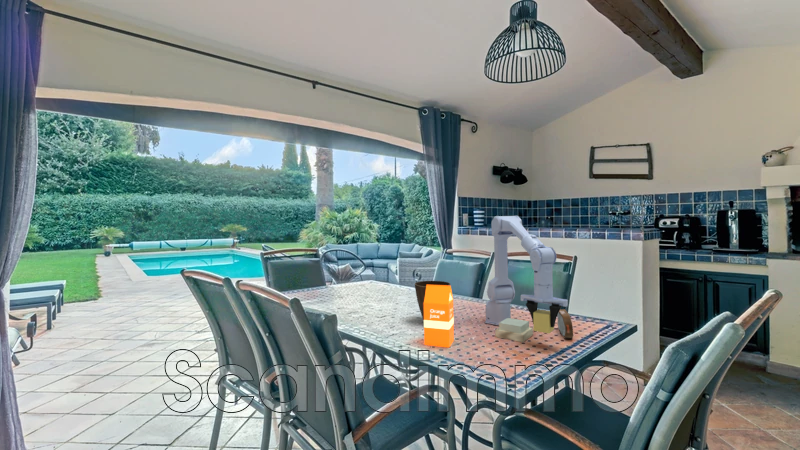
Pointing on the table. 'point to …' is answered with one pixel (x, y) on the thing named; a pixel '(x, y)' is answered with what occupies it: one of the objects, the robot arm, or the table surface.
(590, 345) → the table surface
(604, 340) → the table surface
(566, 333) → the tin
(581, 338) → the table surface
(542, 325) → the mustard block
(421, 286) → the plant pot
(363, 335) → the table surface
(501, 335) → the oak plinth
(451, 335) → the orange juice
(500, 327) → the sage top slab
